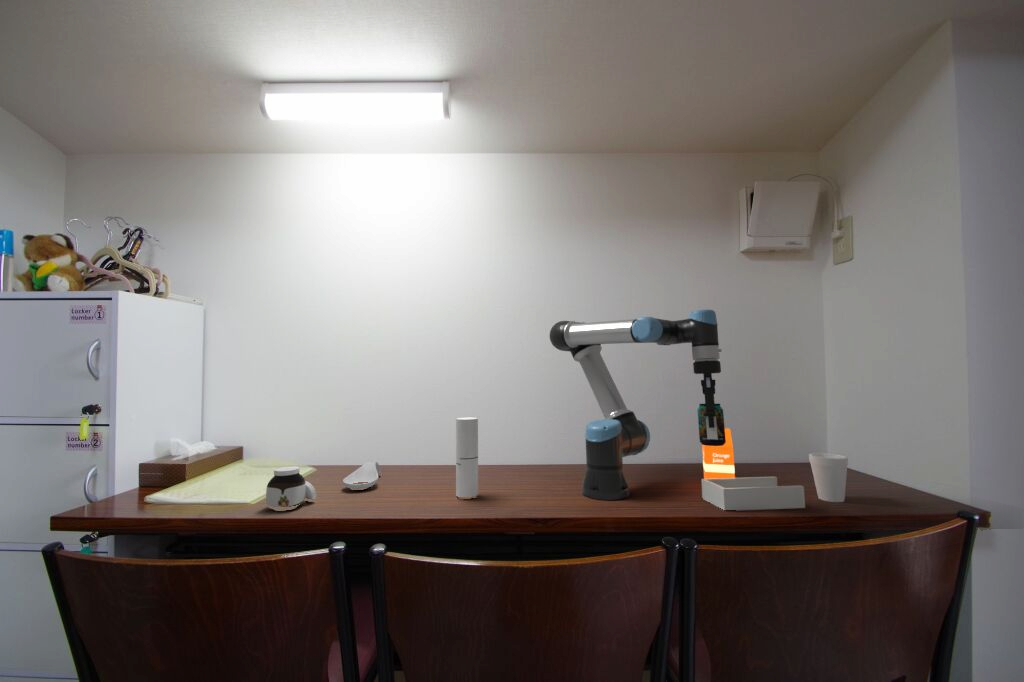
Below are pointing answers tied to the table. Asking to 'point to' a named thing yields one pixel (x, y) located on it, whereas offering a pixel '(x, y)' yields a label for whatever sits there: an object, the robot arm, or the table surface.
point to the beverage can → (703, 428)
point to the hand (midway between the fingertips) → (712, 437)
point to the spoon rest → (363, 476)
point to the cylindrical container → (466, 457)
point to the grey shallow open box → (751, 493)
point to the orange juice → (719, 459)
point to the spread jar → (288, 488)
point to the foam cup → (829, 475)
